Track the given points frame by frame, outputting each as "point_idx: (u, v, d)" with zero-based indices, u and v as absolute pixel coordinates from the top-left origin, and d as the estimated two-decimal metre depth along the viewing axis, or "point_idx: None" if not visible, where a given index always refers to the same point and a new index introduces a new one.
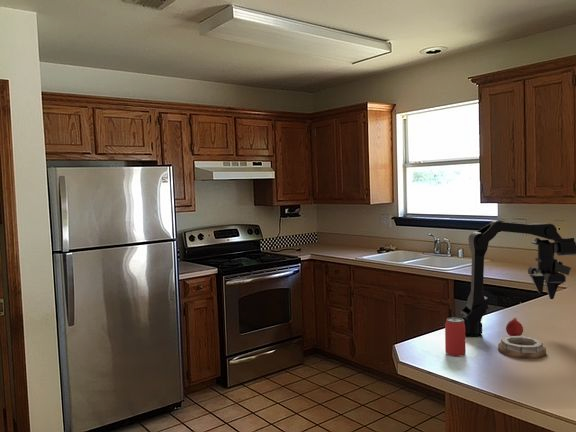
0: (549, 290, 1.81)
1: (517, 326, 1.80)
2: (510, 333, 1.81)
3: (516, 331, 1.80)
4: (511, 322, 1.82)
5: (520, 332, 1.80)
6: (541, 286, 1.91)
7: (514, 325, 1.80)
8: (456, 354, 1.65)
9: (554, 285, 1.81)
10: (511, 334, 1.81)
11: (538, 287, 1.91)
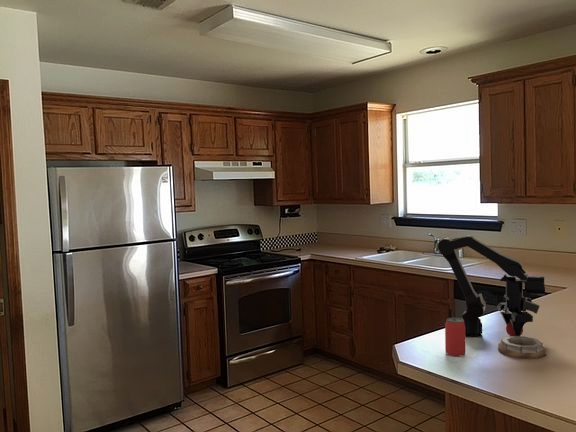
0: (515, 328, 1.78)
1: None
2: (510, 333, 1.81)
3: None
4: None
5: None
6: None
7: None
8: (456, 354, 1.65)
9: (520, 323, 1.78)
10: (511, 334, 1.81)
11: None
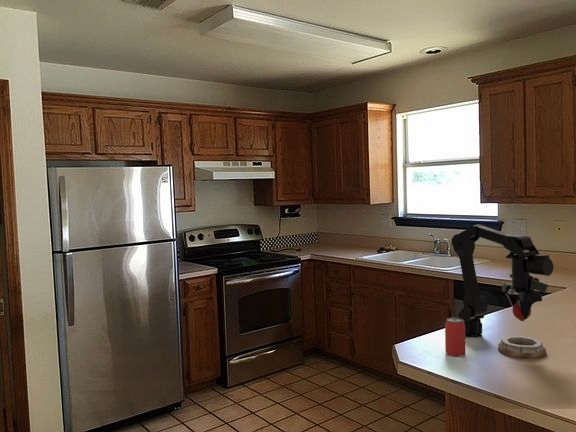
0: (522, 309, 1.65)
1: None
2: (517, 315, 1.68)
3: None
4: None
5: None
6: None
7: None
8: (456, 354, 1.65)
9: (528, 304, 1.65)
10: (518, 316, 1.68)
11: None
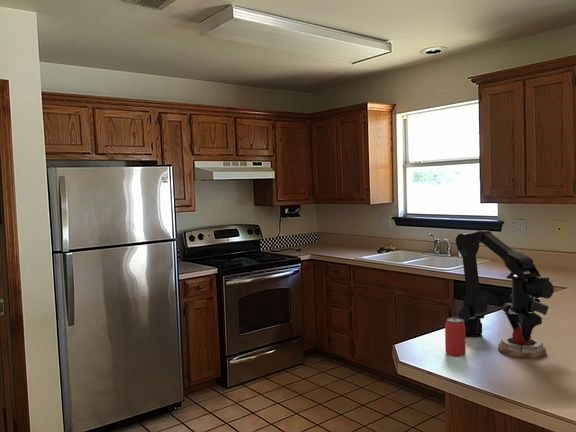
0: (523, 332, 1.63)
1: None
2: (517, 340, 1.67)
3: (523, 338, 1.66)
4: (518, 328, 1.68)
5: None
6: (517, 326, 1.73)
7: (521, 332, 1.67)
8: (456, 354, 1.65)
9: (529, 326, 1.63)
10: (518, 341, 1.67)
11: (514, 327, 1.73)
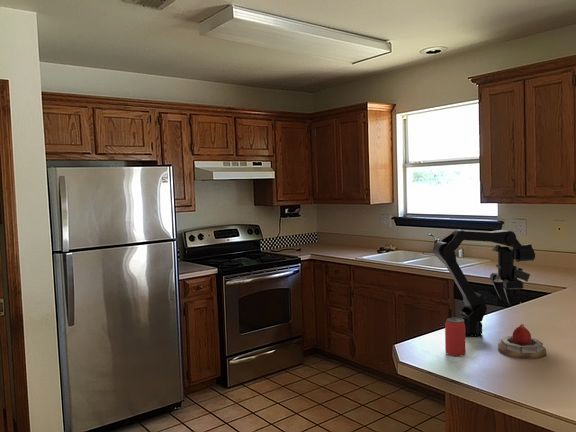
0: (508, 296, 1.84)
1: (524, 333, 1.66)
2: (517, 341, 1.67)
3: (523, 338, 1.66)
4: (518, 329, 1.68)
5: (528, 340, 1.66)
6: (502, 292, 1.94)
7: (521, 333, 1.67)
8: (456, 354, 1.65)
9: (513, 291, 1.84)
10: (518, 342, 1.67)
11: (499, 293, 1.95)
